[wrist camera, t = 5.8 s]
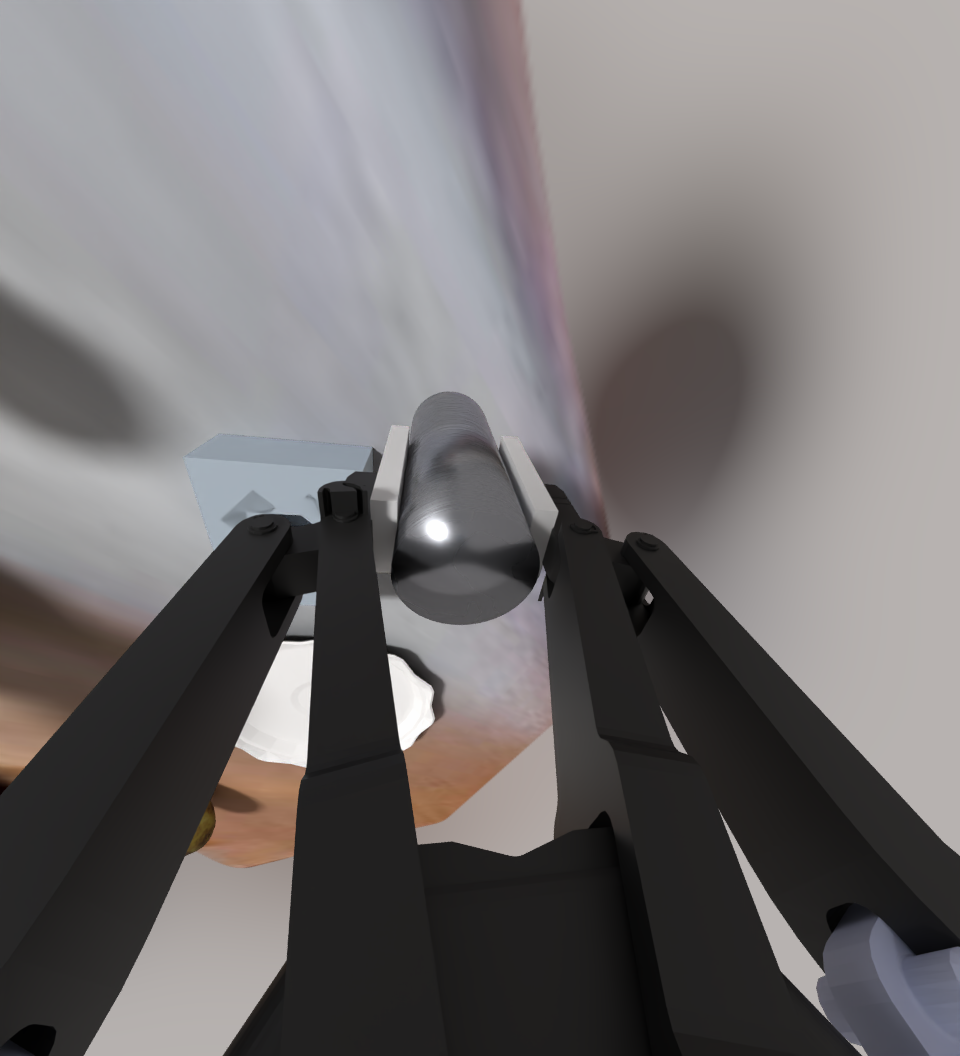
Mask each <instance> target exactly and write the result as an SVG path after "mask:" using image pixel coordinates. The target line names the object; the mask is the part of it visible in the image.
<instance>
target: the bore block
mask: <svg viewBox="0 0 960 1056" xmlns="http://www.w3.org/2000/svg"><path fill="white" fill-rule="evenodd" d="M183 459H184V462H185V465H186V468H187V471H188V474H189V478H190V481H191V484H192V487H193V490H194V493H195V496H196V499H197V502H198V505H199V508H200V511H201V514H202V517H203V520H204V524H205V527H206V530H207V533H208V536H209V539H210V542H211V545H212V548H213V551H214V550H215V549H216V548H217V547H218V545H219V544H220V543H221V542H222V541H223V540H224V539H225V537H226V536H227V535H228V534H229V533H230V532H231V530H232V529H233V528H234V527H235V526H236V525H237V524H238V523H240V522H241V521H242V520H244V519H247V518H249V517H251V516H255V515H259V514H276V515H277V514H286V515H301V516H303V517H304V518H305V519H306V520H308V521H309V522H310V523H312V524H314V523H317V522H320V510H319V502H318V494H317V492H318V490H319V488H320V487H321V486H323V485H325V484H327V483H330V482H334V481H345V480H346V478H347V477H348V476H349V475H351V474H352V473H354V472H355V471H359V472H373V447H365V446H354V445H342V444H331V443H319V442H308V441H296V440H285V439H273V438H262V437H250V436H239V435H227V434H218V435H216V436H215V437H213V438H212V439H210V440H209V441H207V442H206V443H204V444H203V445H201V446H199V447H198V448H196V449H195V450H193V451H192V452H190V453H189V454H187V455H186V456H184V457H183ZM300 605H312V606H316V592H313V593H308V594H303V597H302V600H301V603H300Z"/></svg>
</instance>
